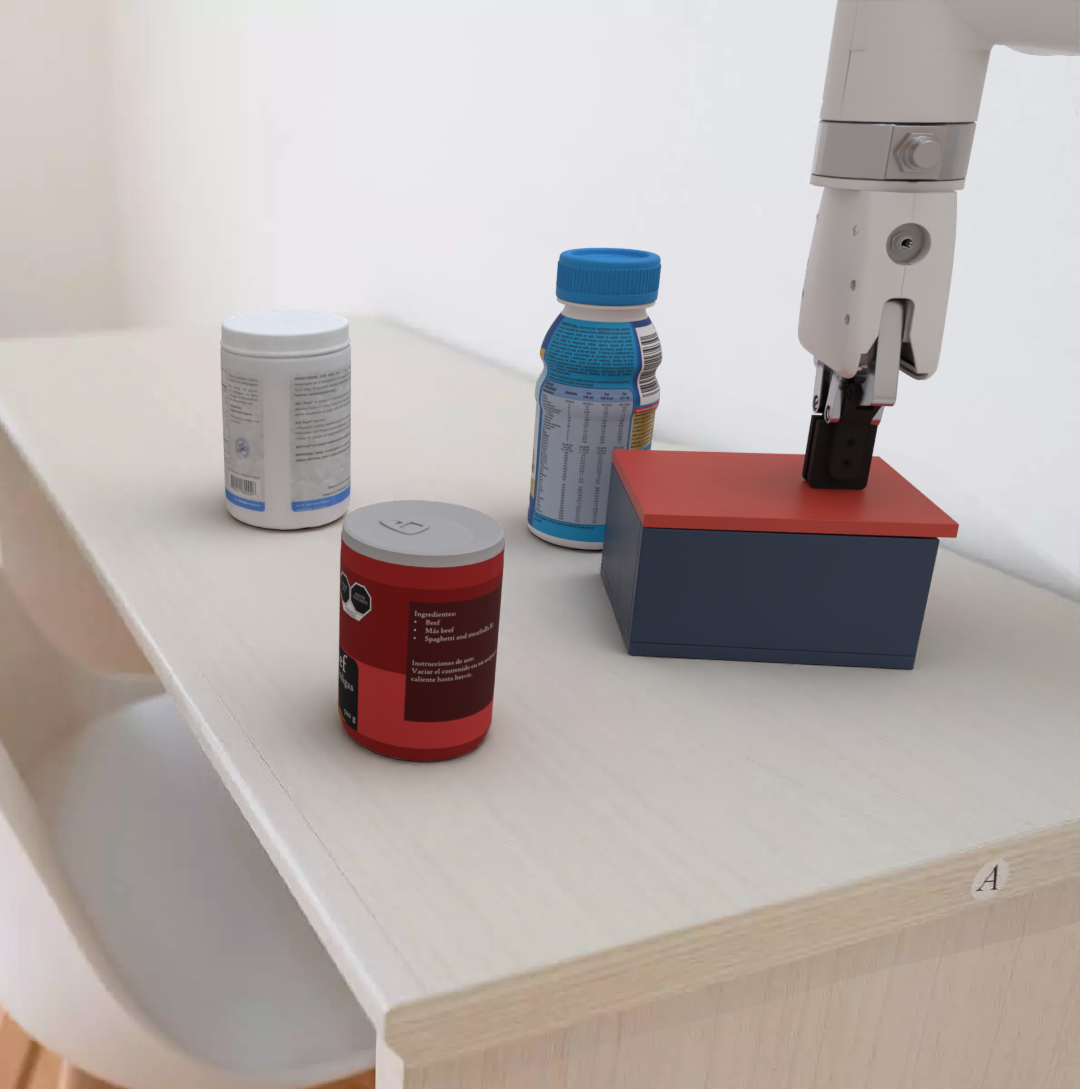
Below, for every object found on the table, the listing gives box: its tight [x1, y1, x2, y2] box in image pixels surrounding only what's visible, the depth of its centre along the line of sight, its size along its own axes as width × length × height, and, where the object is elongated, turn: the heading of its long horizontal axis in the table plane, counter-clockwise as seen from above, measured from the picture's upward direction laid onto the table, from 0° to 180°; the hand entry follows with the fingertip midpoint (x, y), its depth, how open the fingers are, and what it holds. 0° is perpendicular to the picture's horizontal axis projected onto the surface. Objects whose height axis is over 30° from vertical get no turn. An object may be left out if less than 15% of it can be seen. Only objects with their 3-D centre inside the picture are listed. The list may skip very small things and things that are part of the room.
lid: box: [612, 449, 960, 539], centre depth 73 cm, size 16×13×1 cm
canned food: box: [337, 499, 506, 762], centre depth 61 cm, size 8×8×11 cm
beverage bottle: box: [526, 247, 663, 551], centre depth 86 cm, size 8×8×20 cm
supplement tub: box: [219, 309, 352, 531], centre depth 91 cm, size 10×10×15 cm
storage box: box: [599, 462, 941, 670], centre depth 74 cm, size 16×13×8 cm
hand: (833, 484), depth 72 cm, fingers closed
